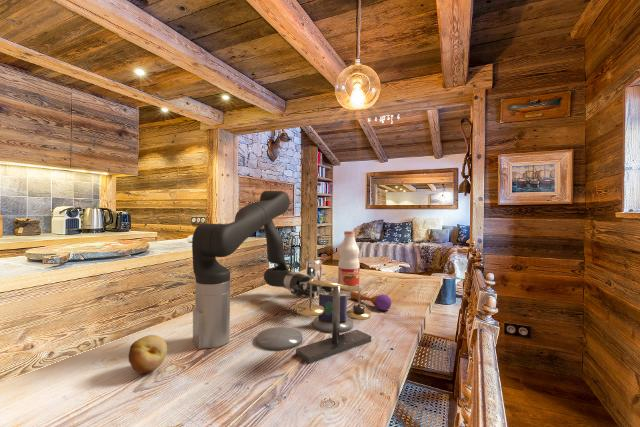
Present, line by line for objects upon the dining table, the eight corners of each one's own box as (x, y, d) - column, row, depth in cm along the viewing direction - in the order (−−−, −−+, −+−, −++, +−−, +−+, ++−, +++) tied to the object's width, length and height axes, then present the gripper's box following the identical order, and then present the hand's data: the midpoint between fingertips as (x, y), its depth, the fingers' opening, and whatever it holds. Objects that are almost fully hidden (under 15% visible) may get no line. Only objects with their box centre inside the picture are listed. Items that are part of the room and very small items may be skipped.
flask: (346, 320, 102) (347, 288, 102) (346, 323, 99) (347, 290, 99) (318, 319, 103) (319, 287, 103) (317, 322, 100) (318, 289, 100)
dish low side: (330, 336, 92) (330, 332, 92) (305, 322, 102) (305, 319, 102) (361, 326, 100) (361, 323, 100) (335, 315, 110) (335, 311, 110)
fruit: (123, 382, 66) (124, 345, 66) (135, 363, 74) (135, 330, 74) (162, 377, 68) (163, 342, 68) (169, 360, 76) (170, 327, 76)
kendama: (359, 288, 133) (395, 296, 117) (357, 302, 132) (393, 312, 116) (348, 287, 130) (384, 295, 114) (347, 302, 129) (383, 312, 113)
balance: (306, 366, 74) (307, 283, 74) (290, 354, 80) (292, 278, 80) (375, 340, 89) (376, 272, 89) (358, 332, 95) (359, 268, 95)
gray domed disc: (270, 354, 80) (270, 350, 80) (249, 337, 90) (249, 333, 90) (311, 342, 88) (311, 338, 88) (287, 327, 98) (287, 323, 98)
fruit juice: (350, 290, 144) (351, 230, 144) (363, 295, 136) (364, 232, 136) (333, 292, 139) (334, 230, 139) (346, 298, 131) (347, 232, 131)
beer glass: (319, 299, 129) (320, 263, 129) (303, 297, 131) (304, 262, 130) (322, 294, 136) (323, 260, 136) (307, 293, 138) (308, 259, 137)
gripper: (281, 275, 114) (306, 285, 101) (312, 271, 122) (339, 279, 109) (281, 295, 114) (306, 307, 101) (312, 290, 123) (339, 300, 110)
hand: (323, 293), depth 105 cm, fingers open, 8 cm apart
